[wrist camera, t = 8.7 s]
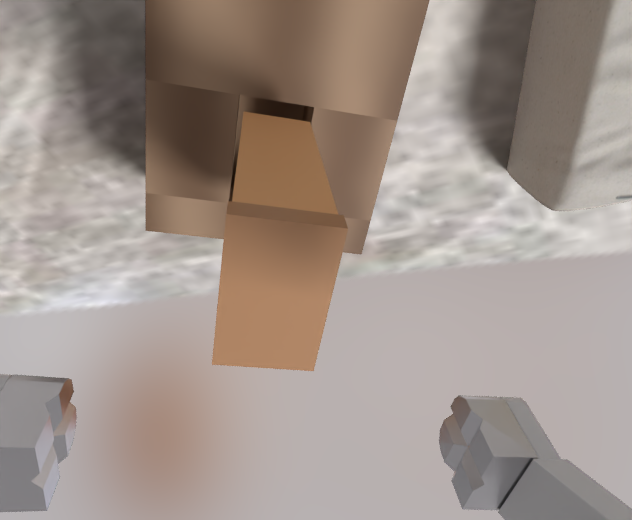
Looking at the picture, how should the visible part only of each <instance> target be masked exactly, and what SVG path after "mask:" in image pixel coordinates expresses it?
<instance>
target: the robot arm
mask: <svg viewBox="0 0 632 520" xmlns="http://www.w3.org/2000/svg"><path fill="white" fill-rule="evenodd" d="M73 392H74V390H73V384H72V380H71V379H69V378H55V377H40V376H26V375H5V374H0V512H18V511H19V512H21V511H47V509H48V507H49V504H50V501H51V499H52V496H53V494H54V491H55V489H56V486H57V483H58V481H59V478H60V475H59V468H58V464H59V463H60V462H61V461H62V460H63V459H65V458H66V457H67V456H68V454H69V451H70V448H71V446H72V443H73V439H74V434H75V429H76V408H75V406H74V405H73V404H71V403H70V400H71V397H72V395H73ZM451 409H452V411H453V414H452V415H451V416H449V417H448V418H446V419H445V420H444V422H443V424H442V426H441V429H440V437H439V444H440V449H441V453H442V456H443V459H444V462H445V463H446V464H447V465H448V466H449V467H450V468H451V469H452V470H453V471H454V475H453V478H452V483H453V486H454V488H455V491H456V493H457V496H458V499H459V501H460V503H461V507H462V509H474V510H499V511H498V513H499V514H500V515H501V516H502V517H503V518H504V519H505V520H632V509H631V508H630V507H629V506H627V505H626V504H625V503H623V502H622V501H620V499H618V498H617V497H616V496H614V495H613V494H612V493H610V492H609V491H608V490H606V489H605V488H604V487H603V486H601V485H600V484H598V483H597V482H596V481H595V480H593V479H592V478H591V477H589V476H588V475H587V474H585V473H584V472H583V471H582V470H580V469H579V468H578V467H576V466H575V465H574V464H573V463H571V462H570V461H569V460H565V459H561V458H560V456H559V455H558V453H557V452H556V450H555V448H554V447H553V445H552V443H551V442H550V440H549V439H548V437H547V435H546V434H545V432H544V430H543V429H542V427H541V426H540V424H539V422H538V421H537V419H536V417H535V416H534V414H533V413H532V411H531V409H530V408H529V406H528V405H527V403H526V402H525V401H524V400H523V399H521V398H513V397H489V396H461V395H460V396H458V397H456V398H455V399H454V401H453V403H452V405H451Z"/></svg>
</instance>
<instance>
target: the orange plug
mask: <svg viewBox="0 0 632 520" xmlns="http://www.w3.org/2000/svg"><path fill="white" fill-rule="evenodd" d="M347 231H348V227H347V224H346V220H345V217H344V215H339V214H338V211H337V208H336V205H335V201H334V198H333V195H332V192H331V188H330V185H329V182H328V179H327V175H326V172H325V169H324V166H323V162H322V159H321V156H320V153H319V149H318V146H317V143H316V140H315V136H314V133H313V130H312V126H311V123H310V122H307V121H301V120H295V119H288V118H282V117H276V116H269V115H263V114H257V113H250V112H243V120H242V128H241V136H240V143H239V151H238V159H237V166H236V174H235V182H234V190H233V197H232V201H228V205H227V212H226V221H225V232H224V243H223V253H222V264H221V274H220V285H219V296H218V306H217V318H216V328H215V338H214V349H213V360H212V365H227V366H243V367H258V368H275V369H290V370H305V371H314V366H315V363H316V359H317V354H318V350H319V346H320V342H321V338H322V334H323V329H324V326H325V322H326V317H327V313H328V309H329V305H330V301H331V297H332V293H333V289H334V285H335V281H336V277H337V272H338V268H339V264H340V260H341V256H342V252H343V248H344V244H345V240H346V236H347Z"/></svg>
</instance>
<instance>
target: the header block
mask: <svg viewBox="0 0 632 520" xmlns="http://www.w3.org/2000/svg"><path fill="white" fill-rule="evenodd" d="M428 4H429V0H145V57H146V231H155V232H164V233H173V234H182V235H191V236H200V237H209V238H218V239H224V232H225V221H226V212H227V205H228V201H232V197H233V190H234V182H235V174H236V166H237V159H238V151H239V143H240V136H241V128H242V120H243V112H250V113H257V114H263V115H269V116H276V117H282V118H288V119H295V120H301V121H307V122H310V123H311V126H312V130H313V133H314V136H315V140H316V143H317V146H318V149H319V153H320V156H321V159H322V162H323V166H324V169H325V172H326V175H327V179H328V182H329V185H330V188H331V192H332V195H333V198H334V201H335V205H336V208H337V211H338V214H339V215H344V217H345V220H346V224H347V227H348V231H347V236H346V240H345V244H344V248H343V252H345V253H354V254H362V250H363V246H364V242H365V239H366V235H367V231H368V228H369V224H370V220H371V216H372V213H373V209H374V205H375V201H376V198H377V194H378V190H379V187H380V183H381V179H382V175H383V172H384V168H385V164H386V160H387V157H388V153H389V149H390V145H391V142H392V138H393V134H394V131H395V127H396V123H397V119H398V116H399V112H400V108H401V104H402V101H403V97H404V93H405V90H406V86H407V82H408V78H409V75H410V71H411V67H412V63H413V60H414V56H415V52H416V49H417V45H418V41H419V37H420V34H421V30H422V26H423V22H424V19H425V15H426V11H427V8H428Z"/></svg>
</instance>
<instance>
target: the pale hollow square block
mask: <svg viewBox="0 0 632 520" xmlns="http://www.w3.org/2000/svg"><path fill="white" fill-rule="evenodd" d="M507 171H508V173H509V175H510V176H511V177H512V178H513V179H514V180H515V181H516V182H517V183H518V184H519V185H520V186H521V187H522V188H523V189H525V190H526V191H527V192H528V193H529V194H530V195H532V196H533V197H534V198H535V199H536V200H537V201H539V202H540V203H541V204H543V205H544V206H546V207H547V208H549V209H551V210H554V211H571V210H581V209H590V208H597V207H603V206H608V205H613V204H617V203H622V202H627V201H631V200H632V0H536V2H535V8H534V14H533V20H532V26H531V32H530V37H529V43H528V49H527V55H526V61H525V67H524V73H523V79H522V85H521V91H520V97H519V103H518V108H517V114H516V120H515V126H514V132H513V138H512V143H511V149H510V154H509V160H508V165H507Z"/></svg>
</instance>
